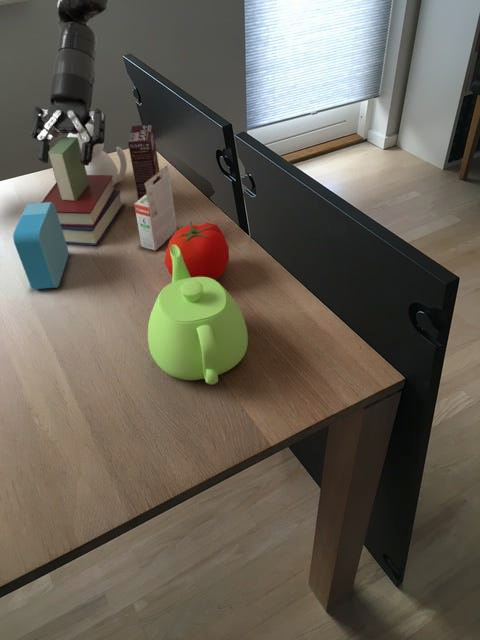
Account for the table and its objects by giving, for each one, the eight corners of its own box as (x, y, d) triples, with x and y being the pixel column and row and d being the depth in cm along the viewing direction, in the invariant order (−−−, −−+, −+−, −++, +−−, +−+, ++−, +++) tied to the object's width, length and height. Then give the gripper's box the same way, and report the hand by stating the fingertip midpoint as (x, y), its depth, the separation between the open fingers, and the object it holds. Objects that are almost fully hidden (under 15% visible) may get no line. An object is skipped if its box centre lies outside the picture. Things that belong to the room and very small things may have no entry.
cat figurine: (79, 177, 130) (63, 115, 120) (131, 173, 130) (120, 111, 120) (75, 195, 123) (57, 131, 113) (129, 191, 124) (117, 127, 114)
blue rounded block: (46, 254, 106) (28, 200, 98) (69, 253, 106) (53, 198, 98) (32, 292, 97) (11, 236, 89) (57, 291, 97) (38, 234, 89)
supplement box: (162, 211, 116) (151, 141, 106) (139, 213, 116) (126, 142, 105) (163, 192, 123) (153, 123, 112) (142, 193, 122) (130, 125, 112)
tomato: (245, 269, 99) (243, 221, 93) (201, 306, 92) (195, 257, 85) (199, 250, 105) (193, 204, 98) (154, 284, 97) (145, 236, 91)
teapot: (140, 314, 91) (125, 250, 82) (224, 295, 94) (220, 232, 85) (164, 412, 75) (150, 346, 67) (266, 386, 78) (265, 319, 69)
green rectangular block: (61, 200, 107) (47, 152, 100) (75, 183, 112) (63, 136, 105) (75, 201, 106) (62, 153, 100) (89, 184, 111) (77, 137, 105)
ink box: (141, 247, 106) (127, 179, 96) (163, 227, 111) (152, 161, 102) (156, 251, 105) (144, 183, 95) (178, 231, 110) (169, 164, 100)
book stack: (40, 242, 109) (29, 210, 104) (72, 202, 121) (63, 172, 116) (96, 246, 107) (88, 214, 102) (123, 205, 119) (117, 175, 114)
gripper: (29, 70, 102) (18, 154, 101) (99, 71, 99) (90, 157, 99) (49, 89, 109) (39, 167, 108) (115, 91, 107) (106, 171, 106)
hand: (63, 163), depth 103 cm, fingers open, 8 cm apart
